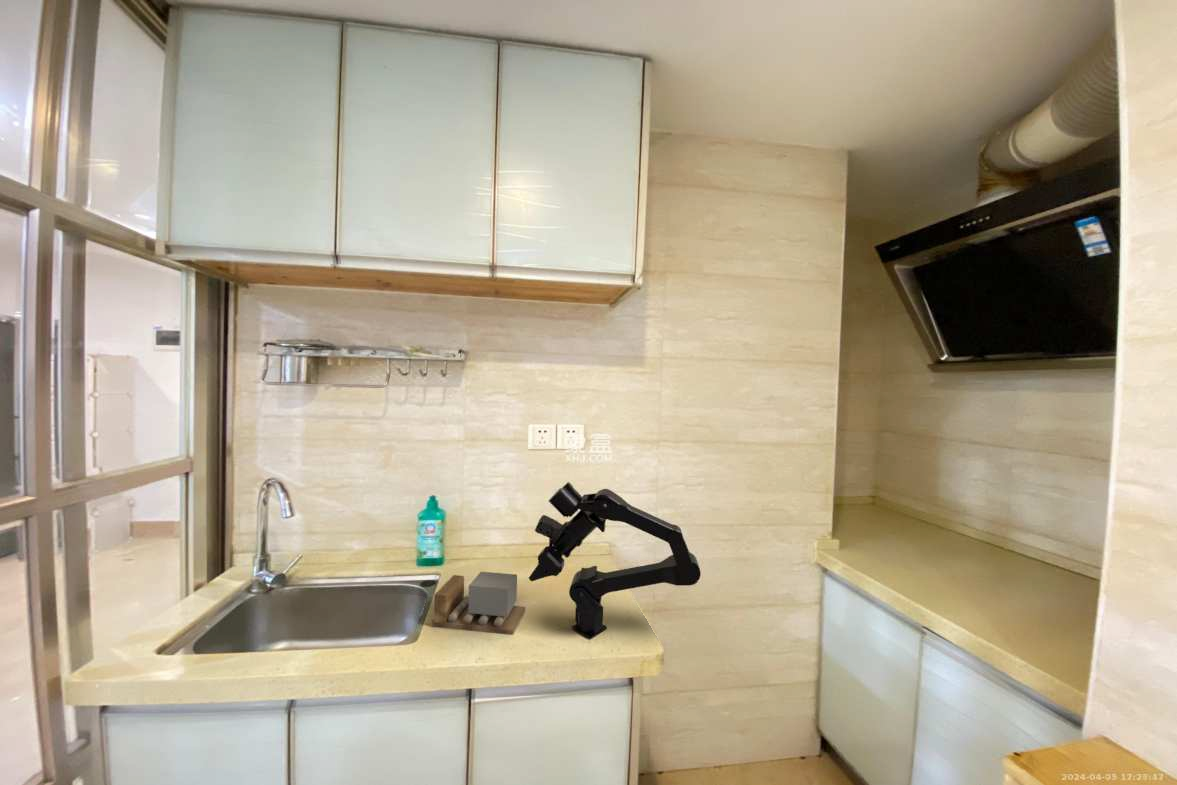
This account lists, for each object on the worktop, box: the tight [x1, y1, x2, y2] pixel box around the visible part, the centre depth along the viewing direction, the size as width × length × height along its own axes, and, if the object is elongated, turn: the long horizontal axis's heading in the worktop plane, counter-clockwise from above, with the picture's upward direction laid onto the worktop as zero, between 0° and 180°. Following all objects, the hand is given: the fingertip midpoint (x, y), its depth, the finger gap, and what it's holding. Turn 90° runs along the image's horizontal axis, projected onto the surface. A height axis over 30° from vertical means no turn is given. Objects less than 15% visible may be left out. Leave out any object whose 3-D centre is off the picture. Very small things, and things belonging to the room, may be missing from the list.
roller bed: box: [430, 574, 526, 636], centre depth 114 cm, size 21×11×8 cm, turn 82°
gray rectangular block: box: [468, 571, 518, 617], centre depth 113 cm, size 10×8×7 cm
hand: (534, 571), depth 111 cm, fingers open, 9 cm apart
